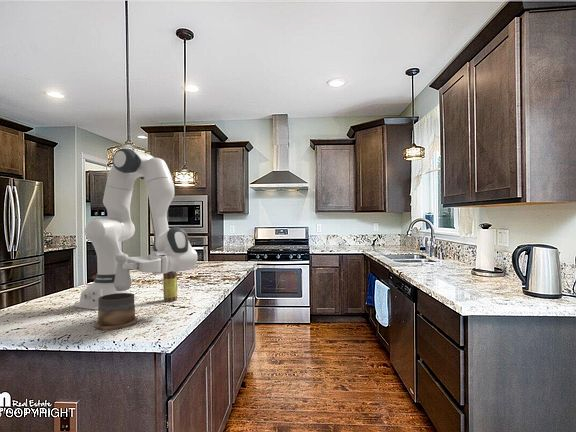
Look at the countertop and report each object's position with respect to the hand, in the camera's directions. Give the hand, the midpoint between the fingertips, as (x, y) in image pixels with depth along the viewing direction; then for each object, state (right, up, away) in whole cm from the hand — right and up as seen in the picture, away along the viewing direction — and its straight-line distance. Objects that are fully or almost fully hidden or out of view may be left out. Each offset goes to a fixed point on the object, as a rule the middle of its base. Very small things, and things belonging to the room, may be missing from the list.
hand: (119, 265), depth 120 cm
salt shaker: (+1, -9, +1) cm, 9 cm away
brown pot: (-2, -22, +1) cm, 22 cm away
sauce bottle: (+5, -22, +37) cm, 43 cm away
